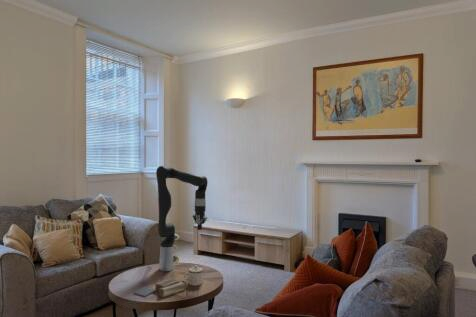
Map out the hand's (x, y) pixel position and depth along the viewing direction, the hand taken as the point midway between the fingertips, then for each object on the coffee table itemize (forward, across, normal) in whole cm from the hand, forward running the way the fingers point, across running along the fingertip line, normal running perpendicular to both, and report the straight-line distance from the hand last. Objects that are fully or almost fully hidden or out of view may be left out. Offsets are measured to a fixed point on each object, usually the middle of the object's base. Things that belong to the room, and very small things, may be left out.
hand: (199, 229), depth 232 cm
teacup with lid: (+32, +8, -12) cm, 35 cm away
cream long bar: (+32, +10, -30) cm, 45 cm away
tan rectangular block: (+32, +4, -30) cm, 44 cm away
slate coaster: (+32, -2, -42) cm, 53 cm away
